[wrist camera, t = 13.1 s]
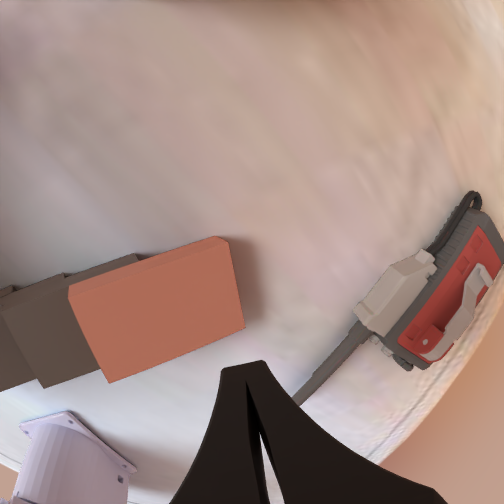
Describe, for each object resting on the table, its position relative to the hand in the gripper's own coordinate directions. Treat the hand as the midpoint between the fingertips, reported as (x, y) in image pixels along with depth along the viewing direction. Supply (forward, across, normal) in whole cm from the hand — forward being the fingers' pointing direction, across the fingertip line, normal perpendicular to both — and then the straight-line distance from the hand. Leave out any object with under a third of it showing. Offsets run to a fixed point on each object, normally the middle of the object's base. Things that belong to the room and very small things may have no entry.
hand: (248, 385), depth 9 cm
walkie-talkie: (+9, -12, +6) cm, 16 cm away
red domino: (+8, 0, 0) cm, 8 cm away
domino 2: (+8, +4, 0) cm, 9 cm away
